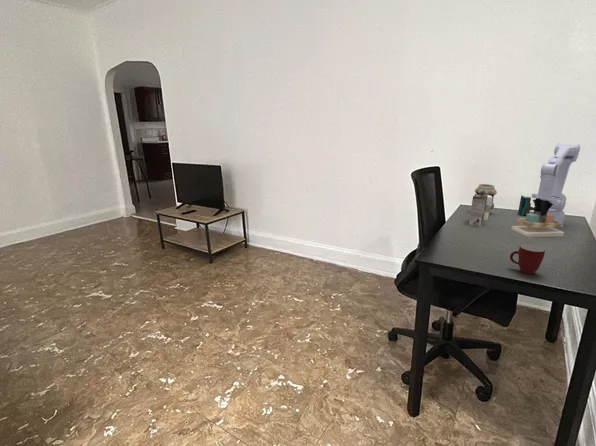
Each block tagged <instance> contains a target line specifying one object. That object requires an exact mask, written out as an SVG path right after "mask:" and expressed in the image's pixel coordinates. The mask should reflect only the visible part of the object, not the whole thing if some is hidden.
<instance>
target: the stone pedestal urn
mask: <svg viewBox="0 0 596 446" xmlns="http://www.w3.org/2000/svg"><path fill="white" fill-rule="evenodd" d="M474 192H475V193H474V194H481V195H490V196H492V197H493V198H492V204H491V209H490V210H492V209H494V208H495V203H494V197H495V195H496V194H497V190H496V189H495V185H493V184H488V183H479V184H478V186H477V187H476V188H475V190H474ZM491 215H492V214H491V212H490V215H489V216H491Z"/></svg>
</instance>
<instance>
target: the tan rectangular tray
mask: <svg viewBox="0 0 596 446" xmlns="http://www.w3.org/2000/svg"><path fill="white" fill-rule="evenodd" d="M535 214H536V215H539V216H540V217H539V221H538V223H529V222H527V221H525V219H526V217H525V218H524V217H523V218H522V217H518V218H517V219H516V223H518V224H520V225H522V226H527V227H551V228H562V227H561V225H562V223H560V222H557V221H553V223H545V220H546V216H547V214H546V215H545V216H542V215H541V211H535ZM562 226H563V225H562Z"/></svg>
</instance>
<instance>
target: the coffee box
mask: <svg viewBox="0 0 596 446" xmlns="http://www.w3.org/2000/svg"><path fill="white" fill-rule="evenodd" d="M487 196H488V195H481V194H476V193H474V195H473V196H472V201H471V207H470V214H469V221H468V225H469V226H473V227H476V226H477V227H478V226H479V227H482V225H483V224H484V221H485V220H484V216H485V209H486V203H487Z"/></svg>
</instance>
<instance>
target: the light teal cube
mask: <svg viewBox="0 0 596 446" xmlns="http://www.w3.org/2000/svg"><path fill="white" fill-rule="evenodd" d="M539 217H540V216H539V215H536V214H534V213H529V214H526V215H525V218H526V219H525V221H527V222H529V223H538V221H539Z"/></svg>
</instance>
